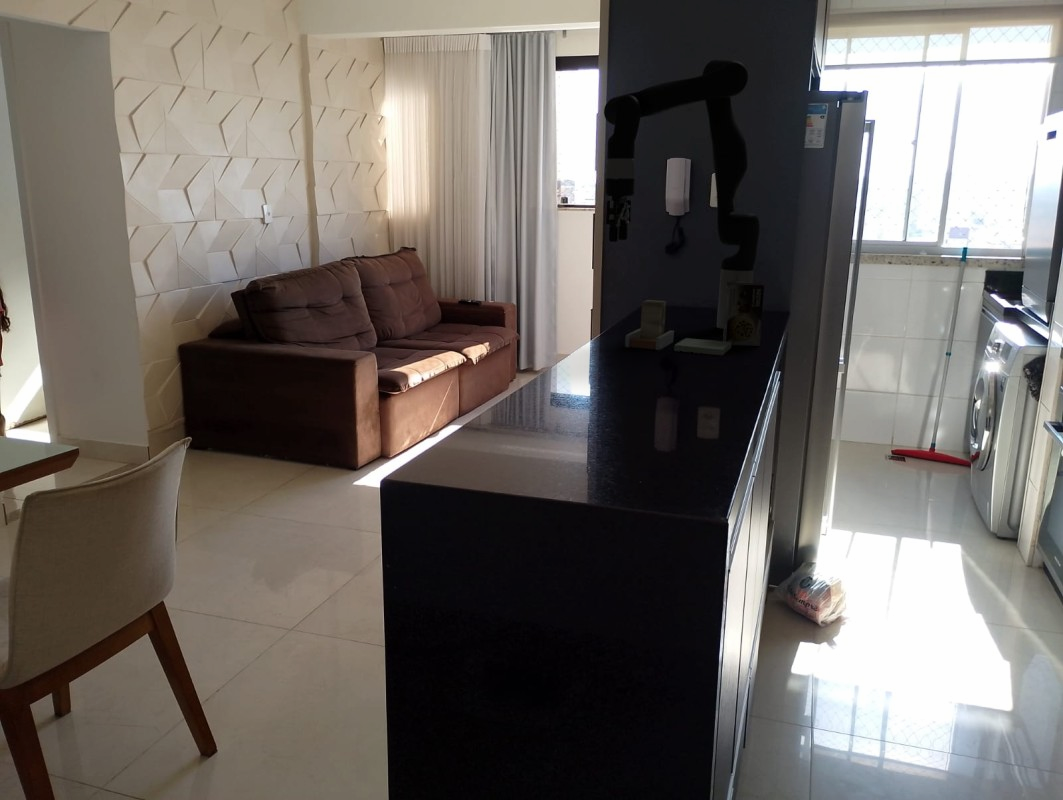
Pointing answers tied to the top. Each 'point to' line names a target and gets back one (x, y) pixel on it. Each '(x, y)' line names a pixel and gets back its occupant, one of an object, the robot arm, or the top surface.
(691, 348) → the pad
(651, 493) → the top surface
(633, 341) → the grey frame
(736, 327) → the coffee box
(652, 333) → the birch block
